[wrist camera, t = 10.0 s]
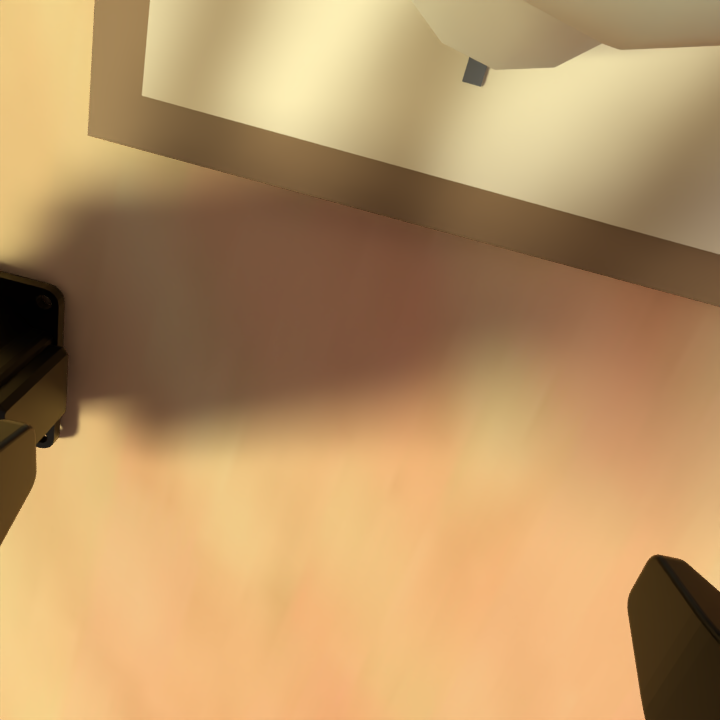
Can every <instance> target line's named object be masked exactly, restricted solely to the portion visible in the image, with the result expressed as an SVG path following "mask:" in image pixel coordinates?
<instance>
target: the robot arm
mask: <svg viewBox="0 0 720 720" xmlns="http://www.w3.org/2000/svg"><path fill="white" fill-rule="evenodd" d="M42 295H45V296H46V297H48V298H49V299H50V300H51V304H52V305H49V304H47V303H45V301H44V300H43V298H42ZM64 305H65V301H64V296H63V294H62V292H61V291H60V290H59V289H58V288H57V287H56V286H53V285H51V284H48V283H44V282H40V281H36V280H32V279H29V278H25V277H21V276H17V275H13V274H9V273H6V272H2V271H0V546H1V544H2V542H3V540H4V538H5V536H6V535H7V533H8V531H9V529H10V527H11V525H12V524H13V522H14V520H15V518H16V516H17V515H18V513H19V511H20V509H21V507H22V505H23V504H24V502H25V500H26V498H27V496H28V494H29V493H30V491H31V489H32V487H33V484H34V481H35V478H36V447H39V448H48V447H50V446H51V445H53V443H54V442H55V441H56V440H57V439H58V437H59V430H60V418H61V416H62V415H63V414H64V413H65V411H66V394H67V372H68V354H67V352H66V350H65V348H64V347H63V330H64ZM45 434H46V435H47V436H44V435H45ZM627 608H628V616H629V623H630V629H631V636H632V642H633V649H634V655H635V662H636V669H637V675H638V682H639V688H640V695H641V700H642V705H643V711H644V715H645V719H646V720H720V592H719V591H718V590H717V589H716V588H715V587H714V586H713V585H711V584H710V583H709V582H708V581H707V580H706V579H705V578H703V577H702V576H701V575H700V574H699V573H698V572H697V571H695V570H694V569H693V568H692V567H691V566H690V565H689V564H687V563H686V562H685V561H683V560H681V559H678V558H673V557H668V556H663V555H654V556H652V557H651V558H649V560H648V561H647V563H646V565H645V566H644V568H643V570H642V572H641V574H640V575H639V577H638V579H637V581H636V583H635V584H634V586H633V588H632V590H631V592H630V594H629V597H628V607H627Z"/></svg>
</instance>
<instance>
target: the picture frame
mask: <svg viewBox="0 0 720 720" xmlns="http://www.w3.org/2000/svg"><path fill="white" fill-rule="evenodd" d="M88 136H92V137H95V138H99V139H103V140H107V141H110V142H114V143H118V144H121V145H125V146H129V147H132V148H136V149H140V150H143V151H147V152H151V153H154V154H158V155H162V156H165V157H169V158H173V159H177V160H180V161H184V162H188V163H191V164H195V165H199V166H202V167H206V168H210V169H213V170H217V171H221V172H224V173H228V174H232V175H236V176H239V177H243V178H247V179H250V180H254V181H258V182H261V183H265V184H269V185H272V186H276V187H280V188H283V189H287V190H291V191H295V192H298V193H302V194H306V195H309V196H313V197H317V198H320V199H324V200H328V201H331V202H335V203H339V204H342V205H346V206H350V207H353V208H357V209H361V210H365V211H368V212H372V213H376V214H379V215H383V216H387V217H390V218H394V219H398V220H401V221H405V222H409V223H412V224H416V225H420V226H424V227H427V228H431V229H435V230H438V231H442V232H446V233H449V234H453V235H457V236H460V237H464V238H468V239H471V240H475V241H479V242H482V243H486V244H490V245H494V246H497V247H501V248H505V249H508V250H512V251H516V252H519V253H523V254H527V255H530V256H534V257H538V258H541V259H545V260H549V261H553V262H556V263H560V264H564V265H567V266H571V267H575V268H578V269H582V270H586V271H589V272H593V273H597V274H600V275H604V276H608V277H612V278H615V279H619V280H623V281H626V282H630V283H634V284H637V285H641V286H645V287H648V288H652V289H656V290H659V291H663V292H667V293H670V294H674V295H678V296H682V297H685V298H689V299H693V300H696V301H700V302H704V303H707V304H711V305H715V306H718V307H720V46H701V47H678V48H655V49H632V50H619V49H616V48H613V47H610V46H608V45H605V44H600V45H598V46H596V47H594V48H592V49H590V50H588V51H586V52H584V53H582V54H580V55H578V56H576V57H574V58H572V59H570V60H568V61H566V62H564V63H563V64H561V65H559V66H557V67H555V68H531V69H505V70H494V69H492V68H490V67H488V66H486V65H484V64H482V63H480V62H478V61H476V60H474V59H473V58H471V57H469V56H467V55H465V54H463V53H461V52H459V51H457V50H455V49H453V48H451V47H449V46H447V45H445V44H443V43H442V42H441V41H440V40H439V38H438V37H437V35H436V34H435V33H434V31H433V30H432V29H431V27H430V26H429V24H428V23H427V22H426V20H425V19H424V17H423V16H422V15H421V13H420V12H419V10H418V9H417V8H416V6H415V5H414V4H413V2H412V1H411V0H95V6H94V26H93V45H92V65H91V84H90V103H89V123H88Z"/></svg>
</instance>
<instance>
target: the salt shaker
mask: <svg viewBox="0 0 720 720" xmlns="http://www.w3.org/2000/svg"><path fill="white" fill-rule="evenodd" d="M411 1H412V2H413V4H414V5H415V6H416V8H417V9H418V10H419V12H420V13H421V15H422V16H423V17H424V19H425V20H426V22H427V23H428V24H429V26H430V27H431V29H432V30H433V31H434V33H435V34H436V35H437V37H438V38H439V40H440V41H441V42H442V43H443V44H445V45H447V46H449V47H451V48H453V49H455V50H457V51H459V52H461V53H463V54H465V55H467V56H469V57H471V58H473V59H474V60H476V61H478V62H480V63H482V64H484V65H486V66H488V67H490V68H492V69H494V70H505V69H531V68H555V67H557V66H559V65H561V64H563V63H564V62H566V61H568V60H570V59H572V58H574V57H576V56H578V55H580V54H582V53H584V52H586V51H588V50H590V49H592V48H594V47H596V46H598V45H600V44H605V45H608V46H610V47H613V48H616V49H619V50H632V49H655V48H678V47H701V46H720V0H411Z"/></svg>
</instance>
